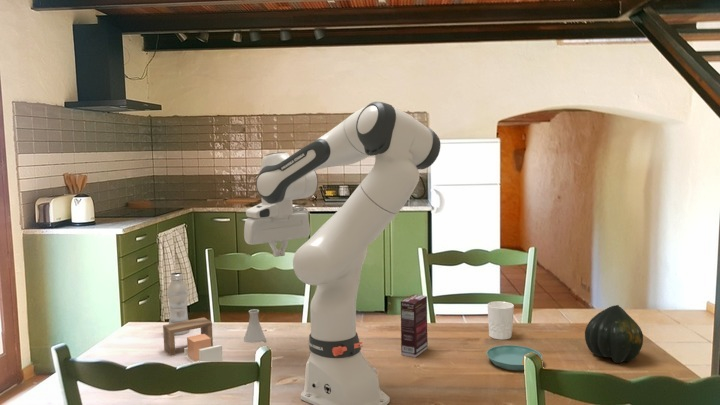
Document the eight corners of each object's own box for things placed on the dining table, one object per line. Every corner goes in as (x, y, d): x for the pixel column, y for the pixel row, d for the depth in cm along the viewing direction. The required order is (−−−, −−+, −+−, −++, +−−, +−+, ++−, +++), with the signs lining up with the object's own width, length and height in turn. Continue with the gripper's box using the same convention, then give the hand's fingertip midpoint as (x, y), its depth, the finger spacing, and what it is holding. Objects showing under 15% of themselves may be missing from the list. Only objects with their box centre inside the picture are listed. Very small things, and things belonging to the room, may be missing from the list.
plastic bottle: (164, 337, 190) (161, 275, 187) (176, 331, 196) (173, 270, 194) (182, 339, 188) (179, 276, 186) (194, 332, 194) (191, 271, 192)
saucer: (476, 358, 170) (476, 349, 169) (520, 351, 175) (520, 342, 175) (506, 377, 156) (506, 367, 156) (553, 369, 161) (553, 359, 161)
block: (211, 357, 169) (210, 338, 169) (194, 361, 166) (193, 341, 166) (204, 352, 173) (204, 333, 173) (187, 356, 170) (187, 337, 170)
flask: (269, 338, 188) (268, 307, 187) (263, 346, 180) (262, 314, 179) (246, 338, 188) (245, 307, 187) (239, 346, 181) (238, 314, 180)
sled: (226, 368, 163) (225, 347, 162) (203, 374, 159) (202, 353, 159) (205, 352, 175) (204, 333, 174) (183, 357, 171) (182, 338, 171)
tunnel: (213, 350, 178) (211, 322, 177) (171, 359, 171) (169, 330, 170) (205, 344, 183) (204, 317, 182) (164, 353, 176) (163, 325, 175)
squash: (600, 350, 158) (632, 305, 160) (566, 335, 173) (596, 293, 175) (634, 381, 162) (665, 336, 164) (598, 363, 176) (627, 322, 178)
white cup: (482, 334, 189) (482, 303, 188) (502, 330, 192) (502, 300, 191) (497, 342, 182) (498, 309, 181) (518, 338, 185) (519, 306, 184)
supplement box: (413, 346, 180) (413, 293, 178) (428, 348, 177) (428, 295, 175) (400, 355, 172) (399, 300, 170) (415, 358, 170) (415, 303, 168)
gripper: (302, 205, 183) (303, 250, 184) (240, 211, 171) (242, 259, 172) (313, 206, 178) (315, 252, 179) (250, 213, 166) (252, 262, 167)
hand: (279, 256), depth 176 cm, fingers closed
